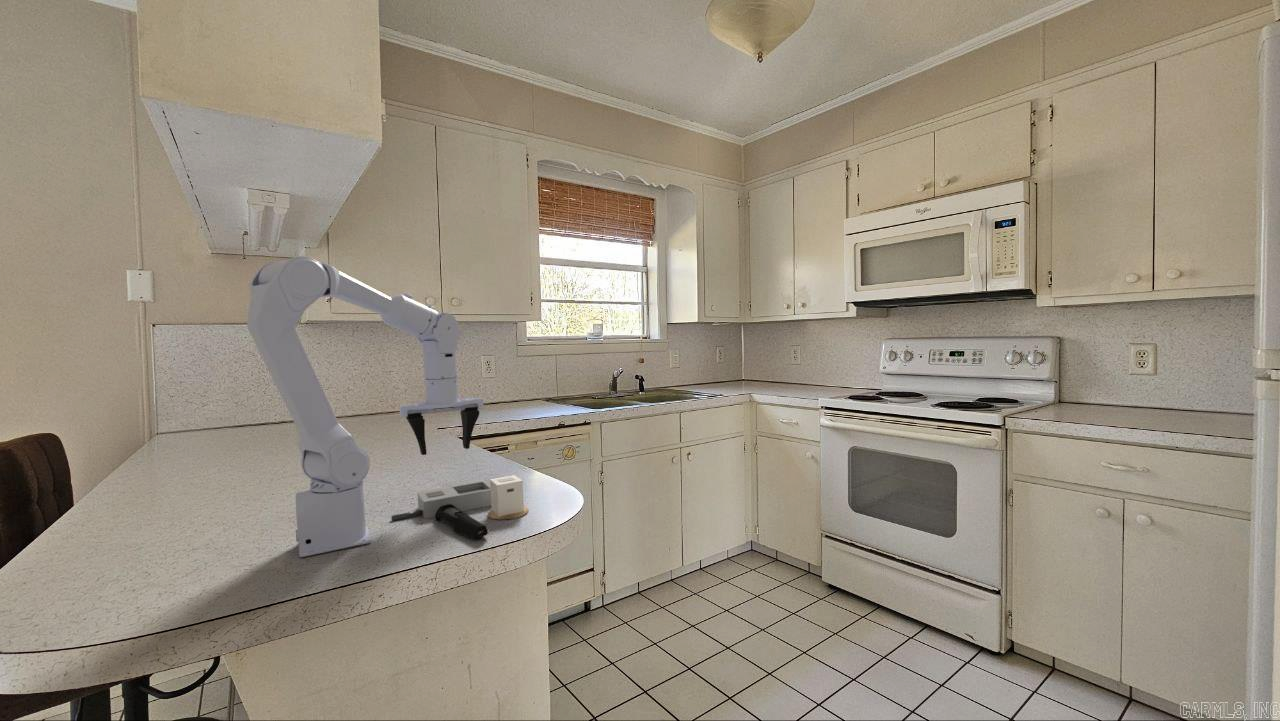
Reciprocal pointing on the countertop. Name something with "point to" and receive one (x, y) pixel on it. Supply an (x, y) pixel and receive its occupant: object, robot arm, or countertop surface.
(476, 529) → the electric trimmer
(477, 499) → the power strip
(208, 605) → the countertop surface
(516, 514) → the coaster
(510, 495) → the box
